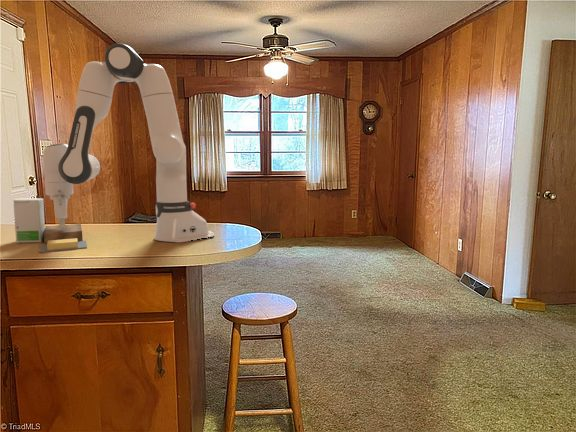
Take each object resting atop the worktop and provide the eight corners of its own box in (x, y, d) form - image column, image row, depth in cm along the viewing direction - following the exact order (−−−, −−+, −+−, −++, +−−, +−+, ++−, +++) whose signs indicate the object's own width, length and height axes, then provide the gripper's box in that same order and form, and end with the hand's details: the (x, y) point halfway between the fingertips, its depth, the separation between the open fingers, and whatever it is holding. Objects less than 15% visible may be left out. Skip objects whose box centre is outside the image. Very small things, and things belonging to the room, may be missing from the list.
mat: (85, 241, 150) (85, 240, 150) (87, 248, 140) (87, 246, 140) (41, 245, 143) (41, 244, 143) (39, 252, 134) (39, 251, 134)
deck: (81, 233, 164) (80, 223, 163) (82, 241, 150) (81, 230, 149) (46, 236, 158) (45, 226, 158) (44, 245, 144) (43, 233, 144)
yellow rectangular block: (77, 241, 139) (78, 247, 140) (77, 238, 145) (77, 243, 145) (47, 244, 135) (47, 250, 136) (47, 240, 140) (48, 246, 141)
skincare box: (15, 243, 147) (11, 200, 144) (21, 239, 153) (17, 197, 150) (42, 242, 149) (38, 199, 146) (47, 238, 155) (43, 197, 153)
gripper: (69, 191, 140) (72, 231, 142) (69, 186, 157) (71, 222, 160) (48, 192, 137) (52, 233, 139) (50, 187, 154) (53, 223, 157)
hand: (62, 227), depth 149 cm, fingers closed
